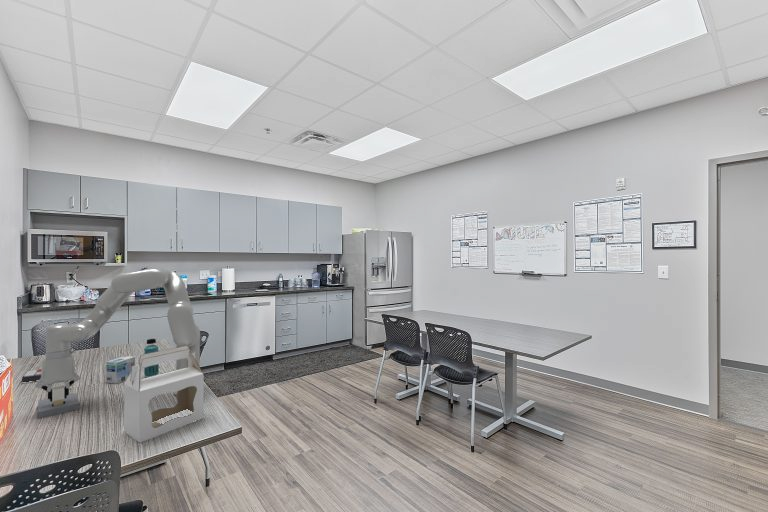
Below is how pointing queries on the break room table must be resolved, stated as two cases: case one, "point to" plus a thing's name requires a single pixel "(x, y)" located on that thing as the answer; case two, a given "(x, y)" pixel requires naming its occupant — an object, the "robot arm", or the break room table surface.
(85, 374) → the break room table surface
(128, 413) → the gable box
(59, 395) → the plug
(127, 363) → the light bulb box
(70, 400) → the socket plate
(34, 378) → the sushi tray
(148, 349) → the beverage bottle
